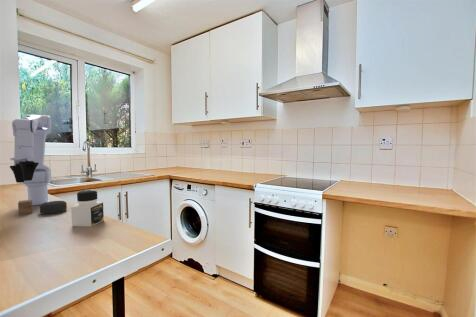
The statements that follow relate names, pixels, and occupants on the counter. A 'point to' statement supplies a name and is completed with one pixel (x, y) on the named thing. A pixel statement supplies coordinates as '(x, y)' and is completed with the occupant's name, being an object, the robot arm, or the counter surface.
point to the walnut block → (25, 207)
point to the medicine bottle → (87, 209)
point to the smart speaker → (53, 207)
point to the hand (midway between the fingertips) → (24, 181)
